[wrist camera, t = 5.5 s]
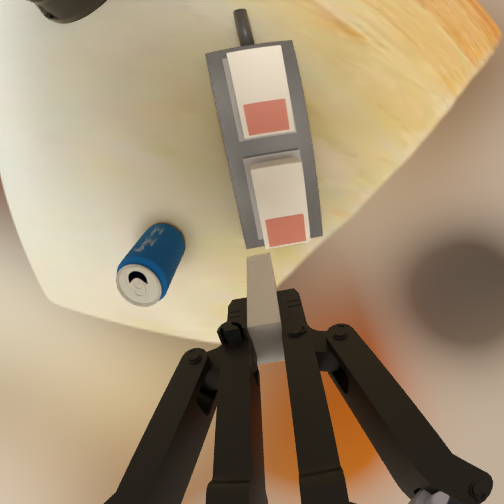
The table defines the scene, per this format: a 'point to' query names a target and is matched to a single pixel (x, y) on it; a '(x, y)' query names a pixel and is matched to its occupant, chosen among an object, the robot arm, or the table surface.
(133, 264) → the beverage can
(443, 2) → the table surface
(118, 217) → the table surface
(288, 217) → the rocker
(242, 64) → the rocker
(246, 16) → the power strip
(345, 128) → the table surface
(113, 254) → the table surface
